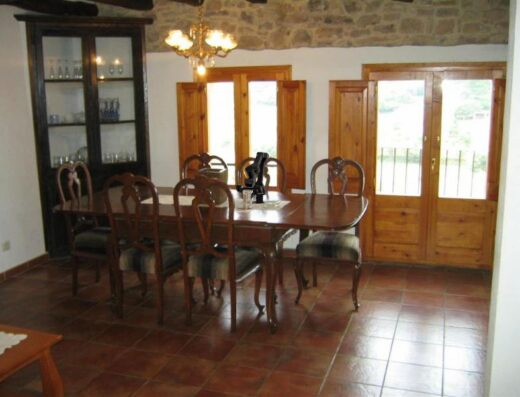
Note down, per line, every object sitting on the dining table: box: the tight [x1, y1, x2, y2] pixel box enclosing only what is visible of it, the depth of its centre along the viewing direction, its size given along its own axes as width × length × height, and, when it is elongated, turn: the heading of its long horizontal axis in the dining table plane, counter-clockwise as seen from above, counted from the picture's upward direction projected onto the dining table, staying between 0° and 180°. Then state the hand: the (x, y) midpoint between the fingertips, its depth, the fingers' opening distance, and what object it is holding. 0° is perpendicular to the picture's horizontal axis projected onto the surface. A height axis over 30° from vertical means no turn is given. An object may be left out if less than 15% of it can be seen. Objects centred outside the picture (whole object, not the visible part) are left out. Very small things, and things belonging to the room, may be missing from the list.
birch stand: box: [234, 193, 253, 213], centre depth 389 cm, size 11×10×13 cm
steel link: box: [243, 190, 253, 208], centre depth 395 cm, size 2×6×12 cm, turn 74°
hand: (246, 198), depth 394 cm, fingers closed on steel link, 6 cm apart
